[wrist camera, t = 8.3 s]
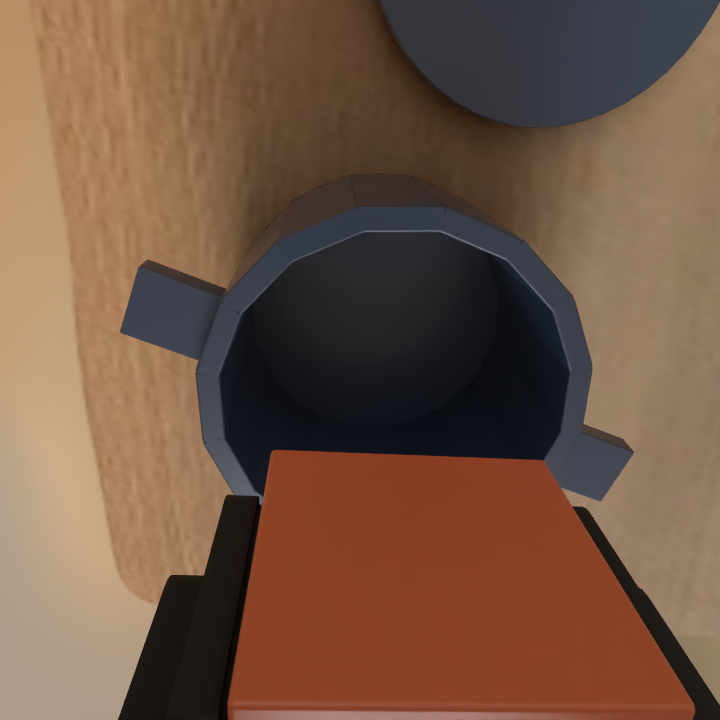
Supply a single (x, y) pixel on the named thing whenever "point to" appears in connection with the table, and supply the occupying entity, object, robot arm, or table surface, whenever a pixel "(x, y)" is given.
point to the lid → (544, 52)
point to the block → (436, 599)
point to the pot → (383, 339)
